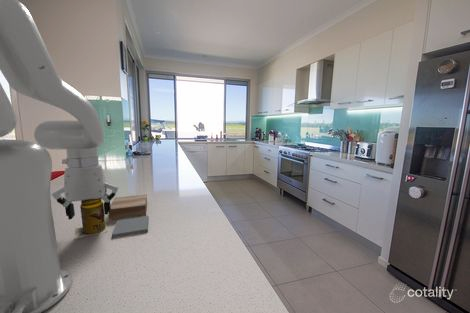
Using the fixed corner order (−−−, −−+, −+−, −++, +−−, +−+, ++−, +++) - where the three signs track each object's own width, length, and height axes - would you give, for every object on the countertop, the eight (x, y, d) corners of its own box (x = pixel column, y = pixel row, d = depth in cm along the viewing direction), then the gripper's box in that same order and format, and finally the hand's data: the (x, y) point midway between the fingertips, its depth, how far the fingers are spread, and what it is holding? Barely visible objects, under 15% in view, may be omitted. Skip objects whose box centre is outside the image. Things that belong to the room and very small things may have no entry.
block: (146, 215, 79) (145, 205, 78) (109, 220, 74) (108, 209, 74) (147, 203, 90) (146, 194, 89) (115, 207, 86) (114, 197, 85)
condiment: (107, 232, 67) (103, 196, 65) (74, 240, 62) (69, 201, 60) (106, 222, 73) (103, 189, 71) (76, 229, 68) (71, 194, 66)
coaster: (147, 231, 67) (147, 228, 67) (112, 237, 64) (112, 234, 63) (148, 218, 76) (148, 215, 76) (117, 222, 73) (117, 220, 73)
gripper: (41, 166, 57) (50, 225, 60) (113, 162, 63) (118, 216, 66) (53, 161, 64) (61, 214, 67) (117, 158, 70) (122, 206, 73)
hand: (89, 215), depth 67 cm, fingers open, 9 cm apart
